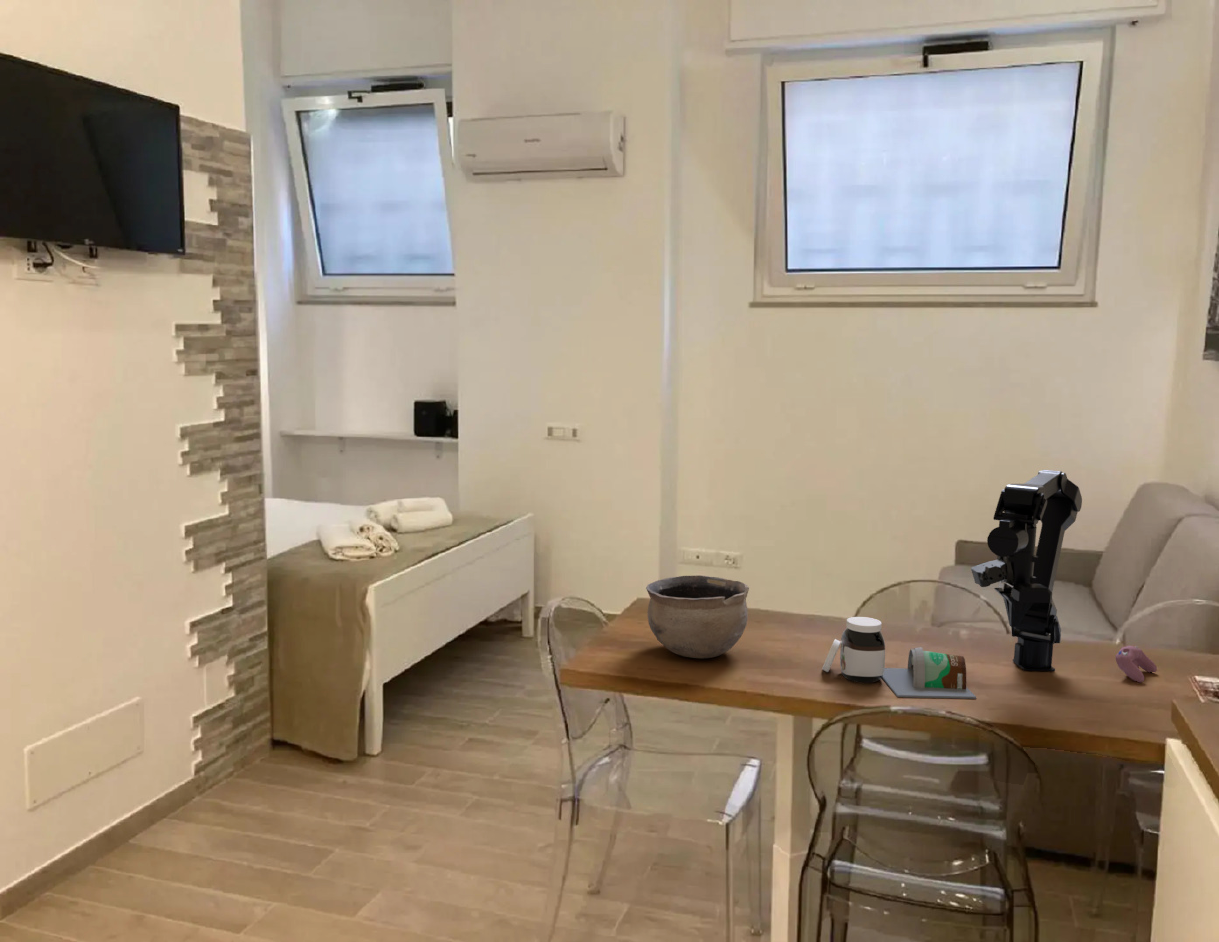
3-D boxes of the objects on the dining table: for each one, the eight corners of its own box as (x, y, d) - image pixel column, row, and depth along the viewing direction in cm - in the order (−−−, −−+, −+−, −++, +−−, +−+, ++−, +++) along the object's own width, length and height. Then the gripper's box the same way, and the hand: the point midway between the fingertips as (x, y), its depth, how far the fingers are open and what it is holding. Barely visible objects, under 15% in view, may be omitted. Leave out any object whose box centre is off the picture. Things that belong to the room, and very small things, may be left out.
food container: (969, 661, 187) (915, 656, 189) (967, 691, 188) (913, 687, 190) (959, 642, 199) (908, 638, 201) (957, 671, 200) (907, 667, 202)
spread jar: (888, 685, 192) (891, 628, 191) (832, 686, 191) (835, 628, 190) (867, 665, 204) (870, 611, 202) (815, 666, 203) (817, 612, 202)
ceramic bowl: (721, 676, 196) (723, 603, 194) (626, 657, 206) (628, 588, 204) (761, 648, 215) (764, 581, 213) (672, 632, 225) (674, 568, 224)
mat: (947, 671, 201) (947, 669, 201) (976, 698, 186) (976, 696, 186) (875, 669, 202) (875, 667, 201) (897, 697, 186) (897, 695, 186)
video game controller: (1137, 676, 206) (1123, 643, 207) (1159, 671, 203) (1145, 638, 204) (1122, 686, 199) (1108, 653, 200) (1144, 682, 196) (1130, 648, 197)
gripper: (960, 539, 199) (955, 613, 201) (996, 558, 181) (990, 639, 183) (1015, 540, 199) (1009, 614, 201) (1056, 559, 181) (1049, 641, 183)
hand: (1013, 626), depth 192 cm, fingers closed
